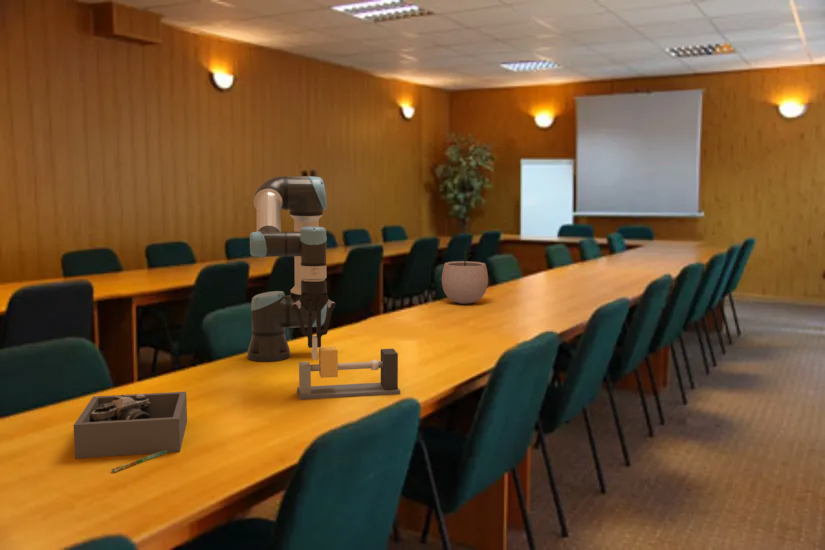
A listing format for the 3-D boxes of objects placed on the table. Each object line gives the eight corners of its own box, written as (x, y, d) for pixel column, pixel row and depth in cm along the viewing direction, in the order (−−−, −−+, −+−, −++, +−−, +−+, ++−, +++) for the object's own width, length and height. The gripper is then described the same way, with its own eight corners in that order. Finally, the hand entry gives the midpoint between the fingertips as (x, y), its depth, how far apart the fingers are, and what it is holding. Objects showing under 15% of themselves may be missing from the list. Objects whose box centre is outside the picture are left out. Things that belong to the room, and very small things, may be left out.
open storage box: (75, 458, 172) (73, 425, 171) (94, 426, 194) (93, 396, 193) (180, 451, 177) (178, 418, 176) (187, 420, 199) (186, 391, 198)
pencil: (175, 449, 180) (110, 473, 164) (174, 444, 179) (110, 468, 164) (178, 449, 179) (114, 474, 164) (178, 445, 179) (114, 469, 163)
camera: (113, 450, 177) (111, 409, 176) (87, 441, 183) (85, 402, 182) (168, 432, 190) (167, 394, 189) (142, 424, 196) (141, 387, 195)
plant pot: (473, 308, 373) (474, 248, 369) (432, 304, 386) (433, 246, 382) (495, 302, 393) (496, 245, 389) (455, 298, 406) (456, 242, 402)
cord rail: (299, 399, 219) (299, 359, 217) (297, 390, 228) (296, 351, 227) (400, 393, 225) (400, 354, 224) (393, 384, 235) (394, 347, 233)
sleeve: (320, 377, 222) (320, 350, 221) (319, 373, 227) (318, 347, 225) (337, 377, 223) (337, 350, 222) (335, 372, 228) (335, 346, 227)
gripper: (292, 281, 215) (293, 362, 218) (337, 280, 218) (337, 360, 221) (290, 278, 222) (291, 356, 225) (334, 277, 225) (335, 354, 228)
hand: (314, 358), depth 223 cm, fingers closed
